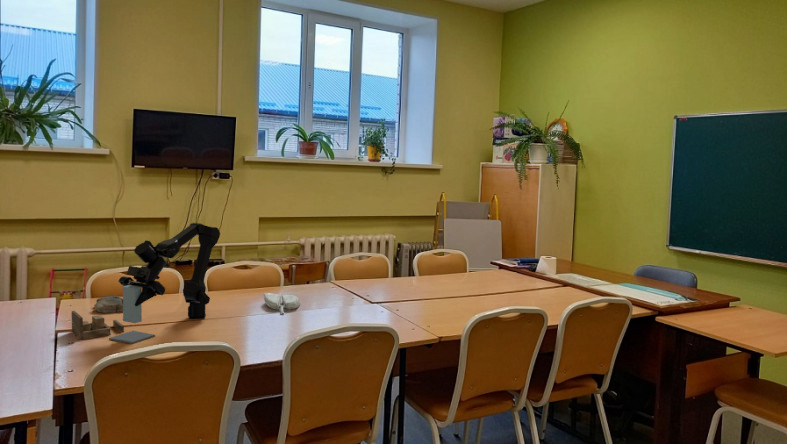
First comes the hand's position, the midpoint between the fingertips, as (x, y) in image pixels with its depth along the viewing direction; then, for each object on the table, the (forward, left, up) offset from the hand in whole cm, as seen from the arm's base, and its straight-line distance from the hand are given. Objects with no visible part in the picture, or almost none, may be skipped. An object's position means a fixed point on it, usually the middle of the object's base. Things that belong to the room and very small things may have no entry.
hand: (129, 304), depth 213 cm
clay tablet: (+17, -49, -13) cm, 53 cm away
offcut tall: (+13, -10, -13) cm, 21 cm away
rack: (+13, -10, -13) cm, 21 cm away
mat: (-1, -1, -13) cm, 13 cm away
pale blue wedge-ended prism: (-1, -1, -7) cm, 7 cm away
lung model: (-57, -41, -14) cm, 72 cm away
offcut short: (+17, -8, -13) cm, 23 cm away
